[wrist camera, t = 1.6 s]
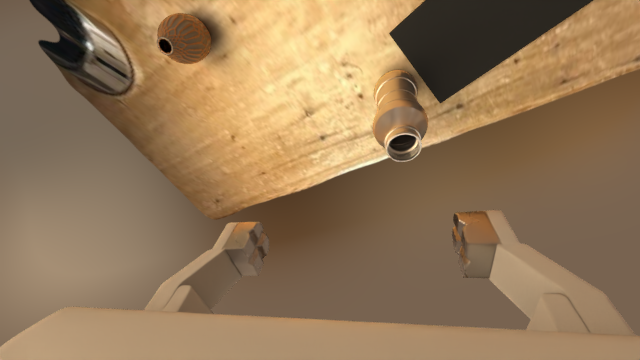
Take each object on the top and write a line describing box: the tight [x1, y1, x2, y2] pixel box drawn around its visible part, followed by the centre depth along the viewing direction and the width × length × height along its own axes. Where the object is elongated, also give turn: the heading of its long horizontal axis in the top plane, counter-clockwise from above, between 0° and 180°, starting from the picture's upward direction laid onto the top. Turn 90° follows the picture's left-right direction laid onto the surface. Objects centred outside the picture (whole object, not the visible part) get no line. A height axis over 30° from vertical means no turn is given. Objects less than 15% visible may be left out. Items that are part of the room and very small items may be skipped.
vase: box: [157, 13, 211, 64], centre depth 41 cm, size 7×7×9 cm
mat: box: [390, 0, 593, 103], centre depth 37 cm, size 22×14×1 cm, turn 134°
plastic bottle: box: [373, 70, 428, 162], centre depth 37 cm, size 6×7×20 cm
